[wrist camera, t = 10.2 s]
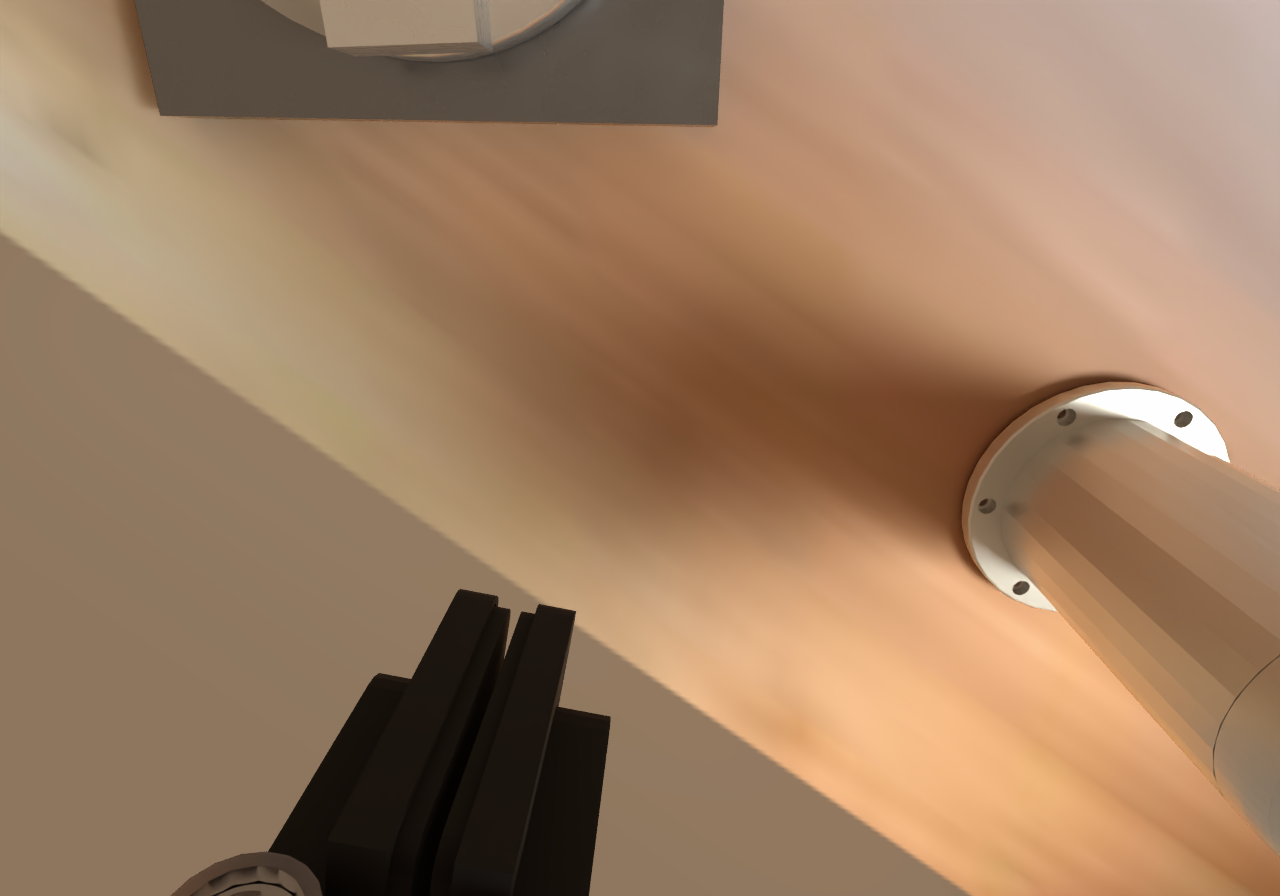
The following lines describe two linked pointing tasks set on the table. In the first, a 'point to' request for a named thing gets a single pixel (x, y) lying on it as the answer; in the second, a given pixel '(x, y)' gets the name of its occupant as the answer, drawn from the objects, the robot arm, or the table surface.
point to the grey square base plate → (440, 69)
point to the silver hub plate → (424, 25)
